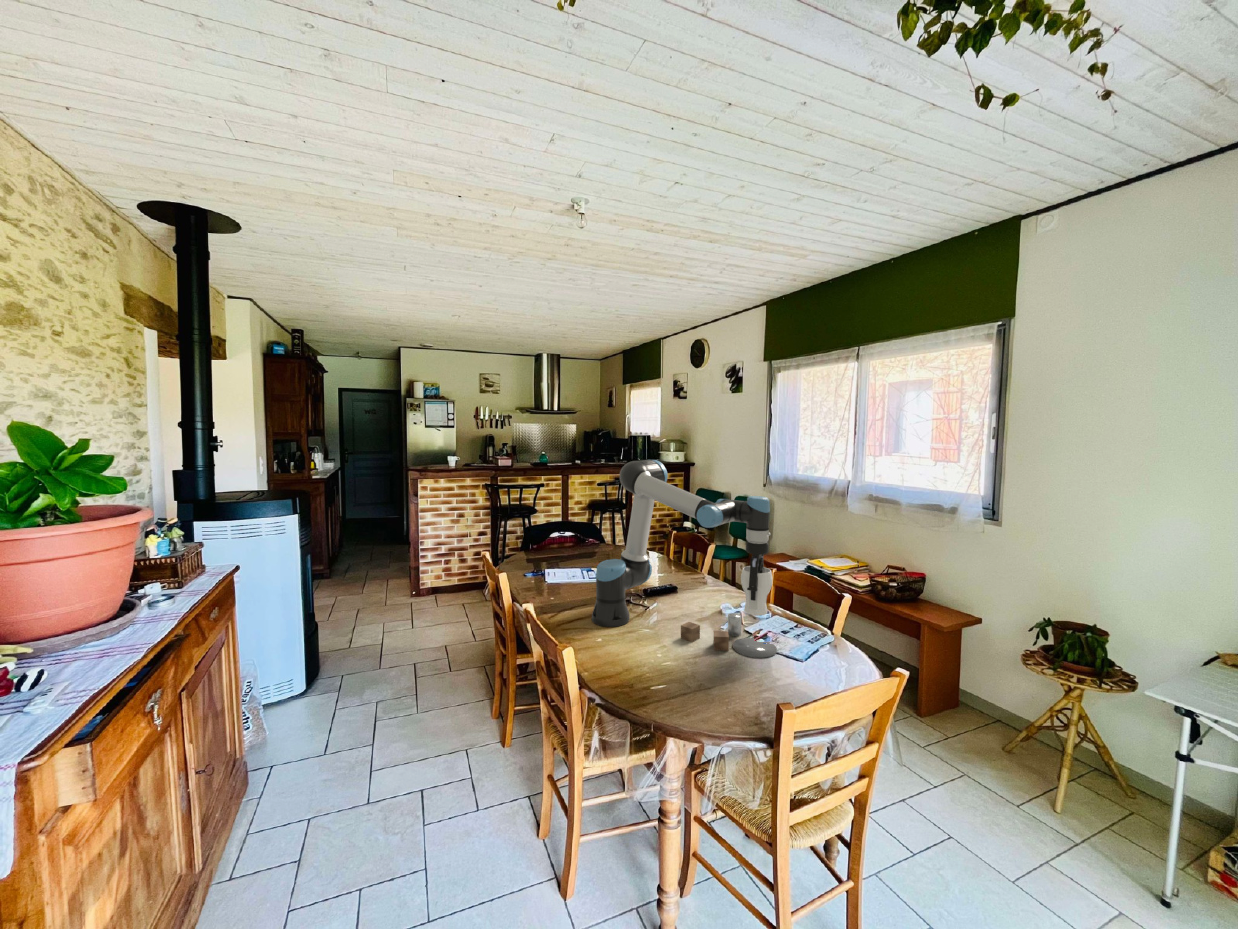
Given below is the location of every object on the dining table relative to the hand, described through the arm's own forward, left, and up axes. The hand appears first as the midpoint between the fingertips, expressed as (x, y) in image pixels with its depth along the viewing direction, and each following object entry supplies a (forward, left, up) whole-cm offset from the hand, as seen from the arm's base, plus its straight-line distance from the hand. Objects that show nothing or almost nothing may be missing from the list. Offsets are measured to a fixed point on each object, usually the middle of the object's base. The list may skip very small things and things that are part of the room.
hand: (755, 603), depth 178 cm
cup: (0, 0, -3) cm, 3 cm away
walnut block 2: (-11, -4, -16) cm, 20 cm away
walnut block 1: (-23, -1, -16) cm, 28 cm away
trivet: (0, 0, -16) cm, 16 cm away
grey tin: (-9, +10, -16) cm, 21 cm away
